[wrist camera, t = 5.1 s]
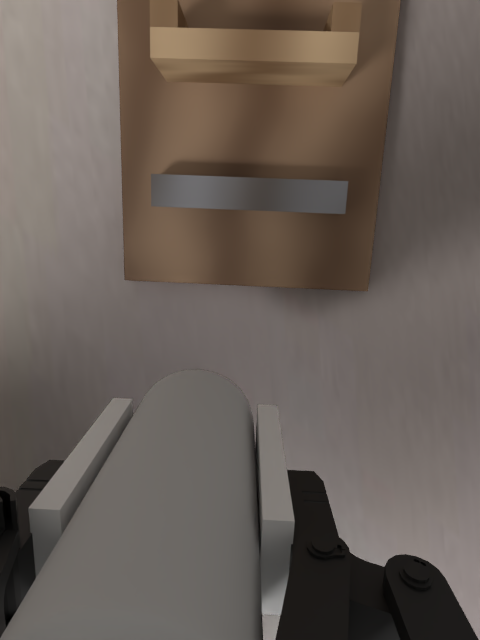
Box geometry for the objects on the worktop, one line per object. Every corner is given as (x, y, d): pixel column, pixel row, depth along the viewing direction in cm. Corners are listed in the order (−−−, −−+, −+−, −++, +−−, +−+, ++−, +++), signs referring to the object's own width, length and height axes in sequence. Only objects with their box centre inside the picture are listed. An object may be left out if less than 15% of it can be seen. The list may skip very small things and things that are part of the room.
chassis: (130, 277, 26) (103, 290, 21) (120, -176, 21) (80, -286, 16) (362, 287, 26) (385, 303, 21) (413, -173, 20) (458, -285, 16)
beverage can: (201, 340, 17) (102, 594, 6) (279, 424, 18) (336, 803, 6) (117, 413, 18) (-128, 770, 6) (195, 490, 19) (105, 938, 7)
